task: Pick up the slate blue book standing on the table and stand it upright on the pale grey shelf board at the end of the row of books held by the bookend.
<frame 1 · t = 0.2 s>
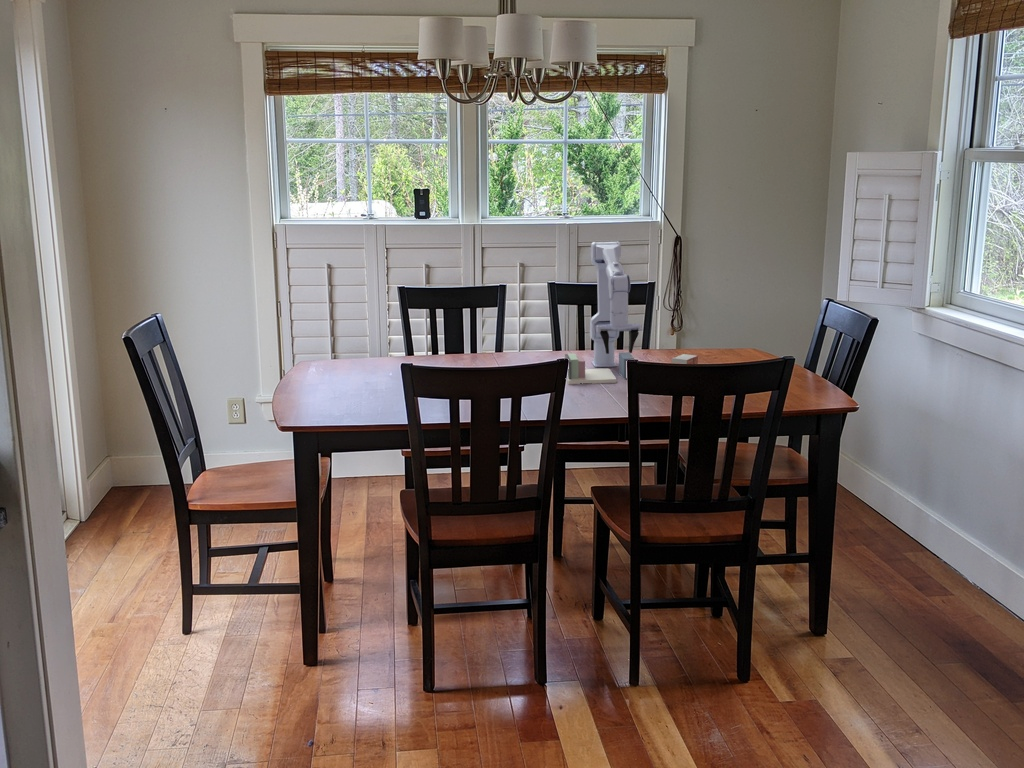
hand: (618, 352, 324), 10 cm above the table, tool pointing down, fingers open, 7 cm apart
slate book: (626, 375, 335), on the table
bookend: (568, 366, 331), on the shelf board, point 4 cm above the table
books: (576, 365, 331), on the shelf board, point 4 cm above the table
small box: (684, 389, 316), on the table
shelf board: (589, 377, 333), on the table
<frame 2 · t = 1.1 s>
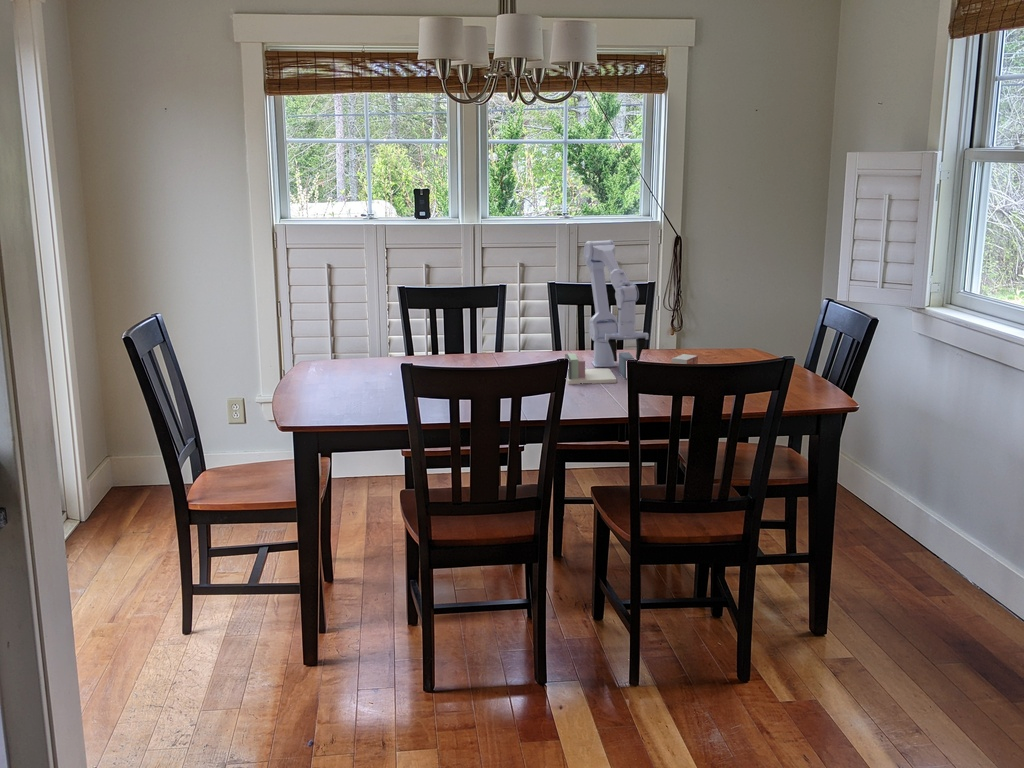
hand: (626, 360, 334), 5 cm above the table, tool pointing down, fingers open, 7 cm apart
nothing on the table moved.
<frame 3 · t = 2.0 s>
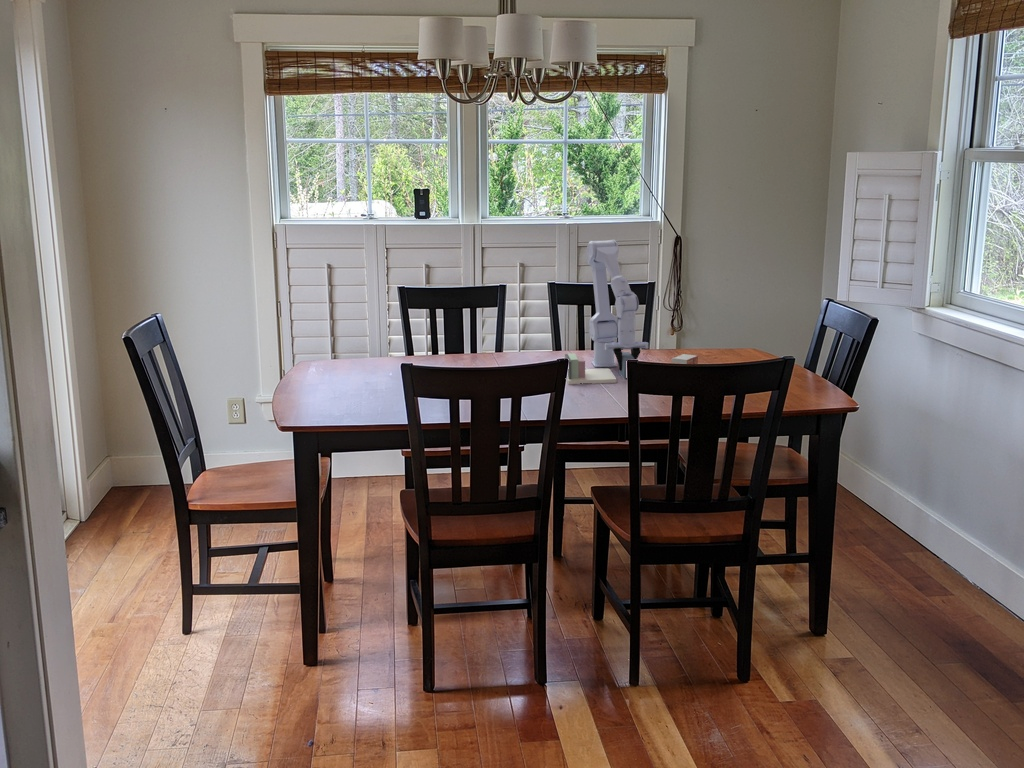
hand: (626, 369, 335), 2 cm above the table, tool pointing down, fingers closed on slate book, 3 cm apart
slate book: (626, 375, 335), on the table, touching gripper
everything else where it was.
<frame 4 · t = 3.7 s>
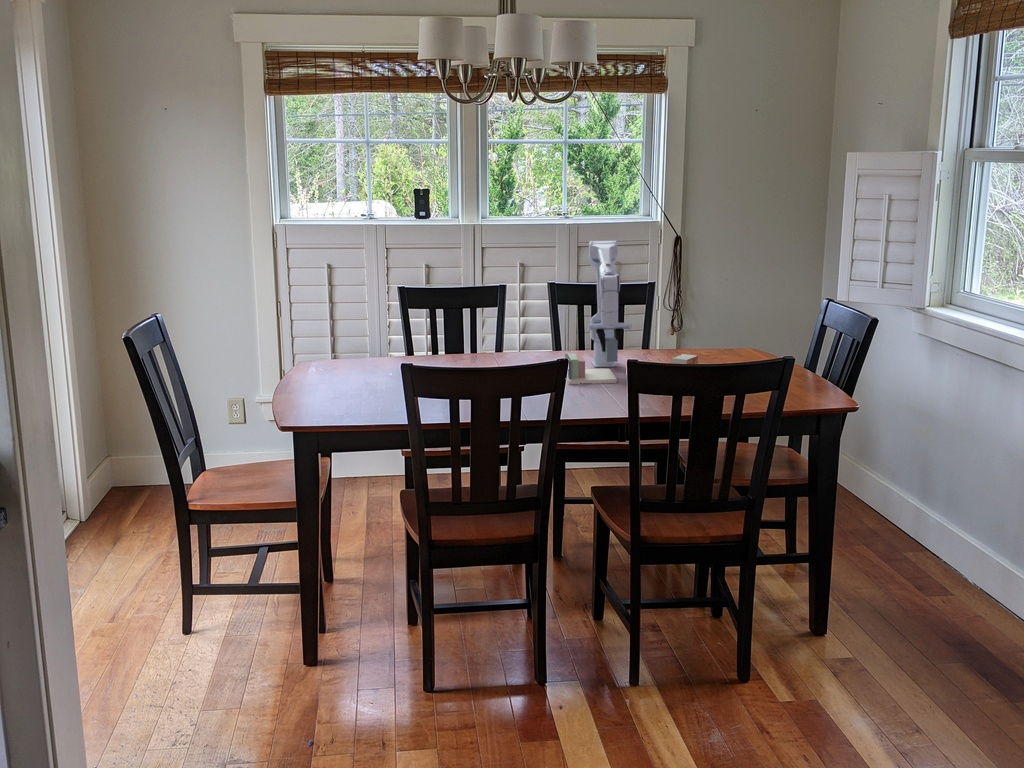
hand: (609, 350, 331), 9 cm above the table, tool pointing down, fingers closed on slate book, 3 cm apart
slate book: (609, 358, 332), point 6 cm above the table, touching gripper
everything else where it was.
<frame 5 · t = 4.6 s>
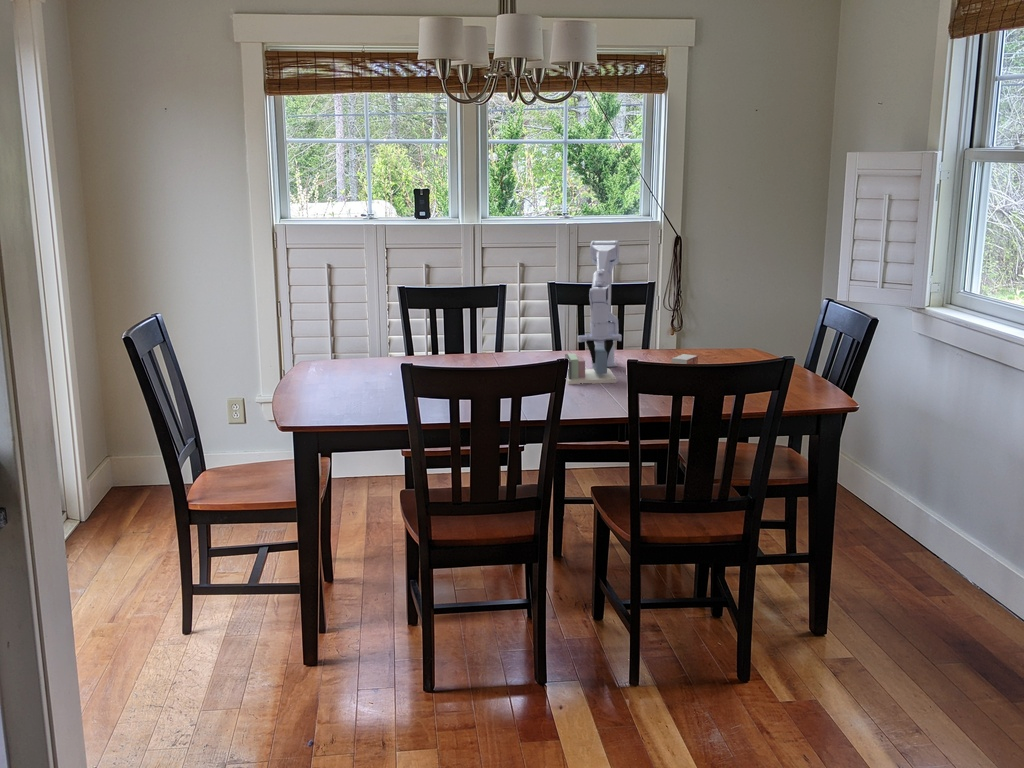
hand: (599, 362, 331), 5 cm above the table, tool pointing down, fingers closed on slate book, 3 cm apart
slate book: (599, 370, 332), point 3 cm above the table, touching gripper
everything else where it was.
when the fingers open (5 cm above the table, at t = 5.1 s): slate book stays where it is, resting on shelf board.
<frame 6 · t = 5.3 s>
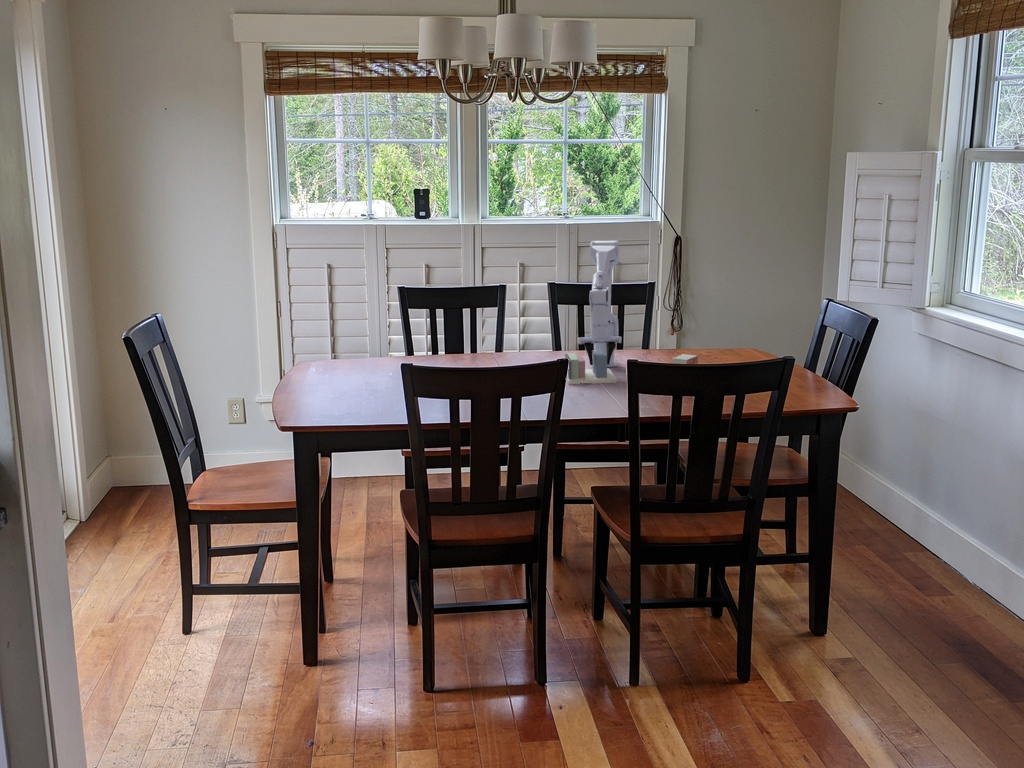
hand: (599, 364, 332), 5 cm above the table, tool pointing down, fingers open, 5 cm apart
slate book: (599, 374, 332), point 1 cm above the table, touching shelf board
everything else where it was.
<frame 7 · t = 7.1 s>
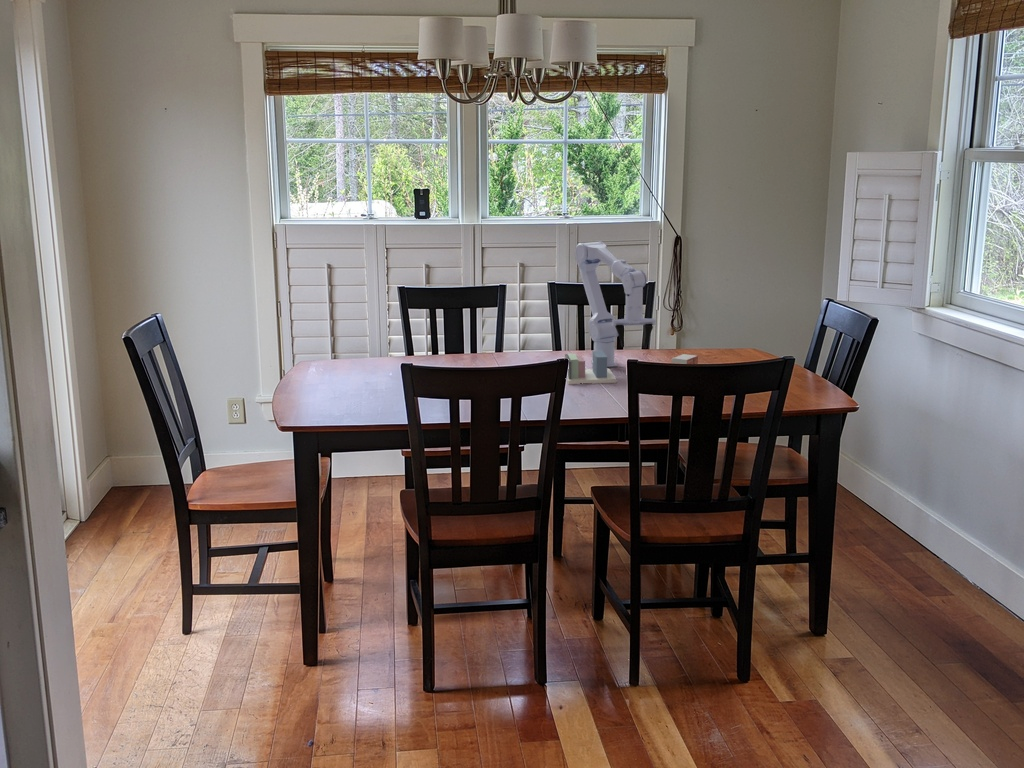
hand: (633, 346, 336), 9 cm above the table, tool pointing down, fingers open, 7 cm apart
nothing on the table moved.
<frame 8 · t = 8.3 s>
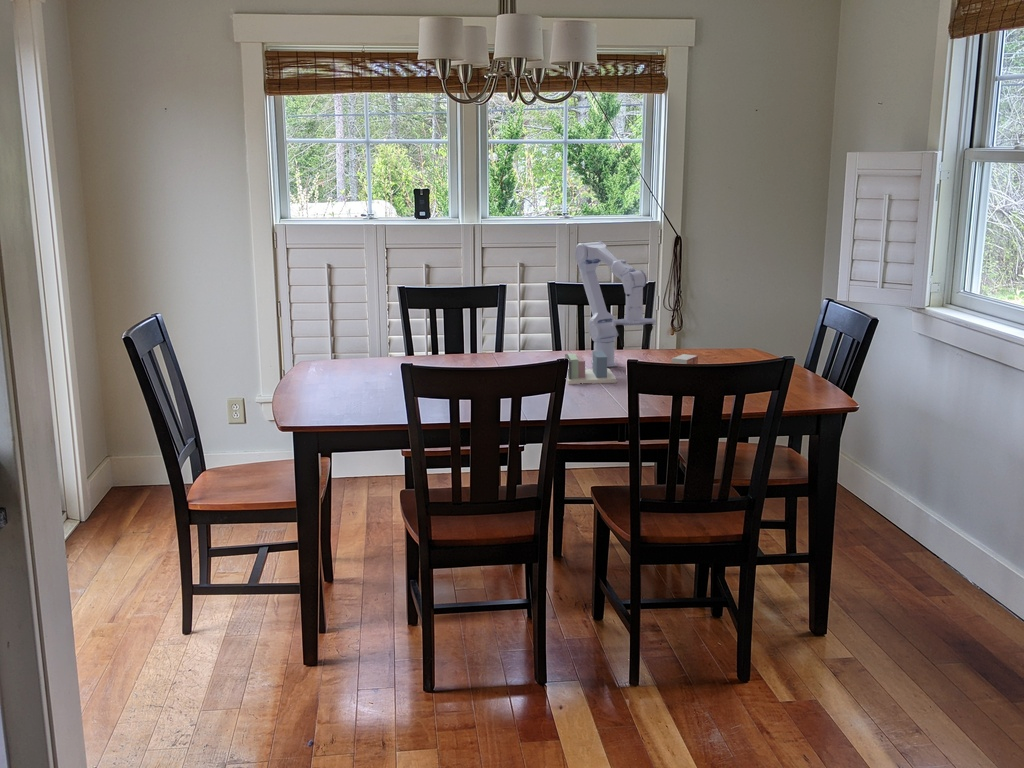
hand: (633, 346, 336), 9 cm above the table, tool pointing down, fingers open, 7 cm apart
nothing on the table moved.
at the end: slate book 0.3 cm from the target spot, point 1.2 cm above the table; slate book tilted 0°; the gripper is holding nothing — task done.
